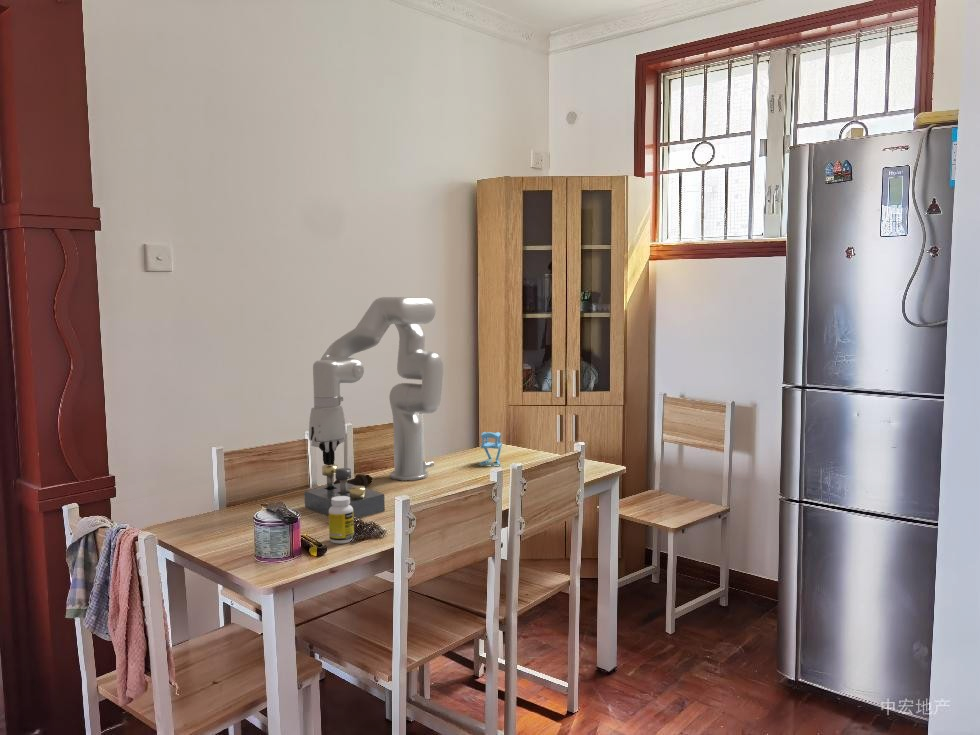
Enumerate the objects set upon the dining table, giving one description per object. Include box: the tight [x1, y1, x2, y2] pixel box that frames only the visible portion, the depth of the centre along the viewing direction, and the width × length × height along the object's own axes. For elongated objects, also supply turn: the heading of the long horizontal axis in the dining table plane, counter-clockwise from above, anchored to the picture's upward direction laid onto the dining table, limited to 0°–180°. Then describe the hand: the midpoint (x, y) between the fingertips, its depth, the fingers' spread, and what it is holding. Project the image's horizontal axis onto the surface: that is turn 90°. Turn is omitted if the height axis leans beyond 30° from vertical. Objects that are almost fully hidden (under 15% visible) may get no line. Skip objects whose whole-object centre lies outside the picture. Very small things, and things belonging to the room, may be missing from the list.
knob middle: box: [334, 467, 352, 495], centre depth 230 cm, size 4×4×8 cm
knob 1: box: [321, 463, 338, 490], centre depth 235 cm, size 4×4×8 cm
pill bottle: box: [328, 496, 355, 545], centre depth 202 cm, size 6×6×11 cm
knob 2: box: [350, 486, 366, 499], centre depth 225 cm, size 4×4×8 cm
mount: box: [304, 483, 385, 519], centre depth 230 cm, size 14×20×5 cm
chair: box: [478, 431, 503, 468], centre depth 285 cm, size 8×8×12 cm
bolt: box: [334, 474, 373, 488], centre depth 252 cm, size 6×5×15 cm
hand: (328, 464), depth 234 cm, fingers closed
